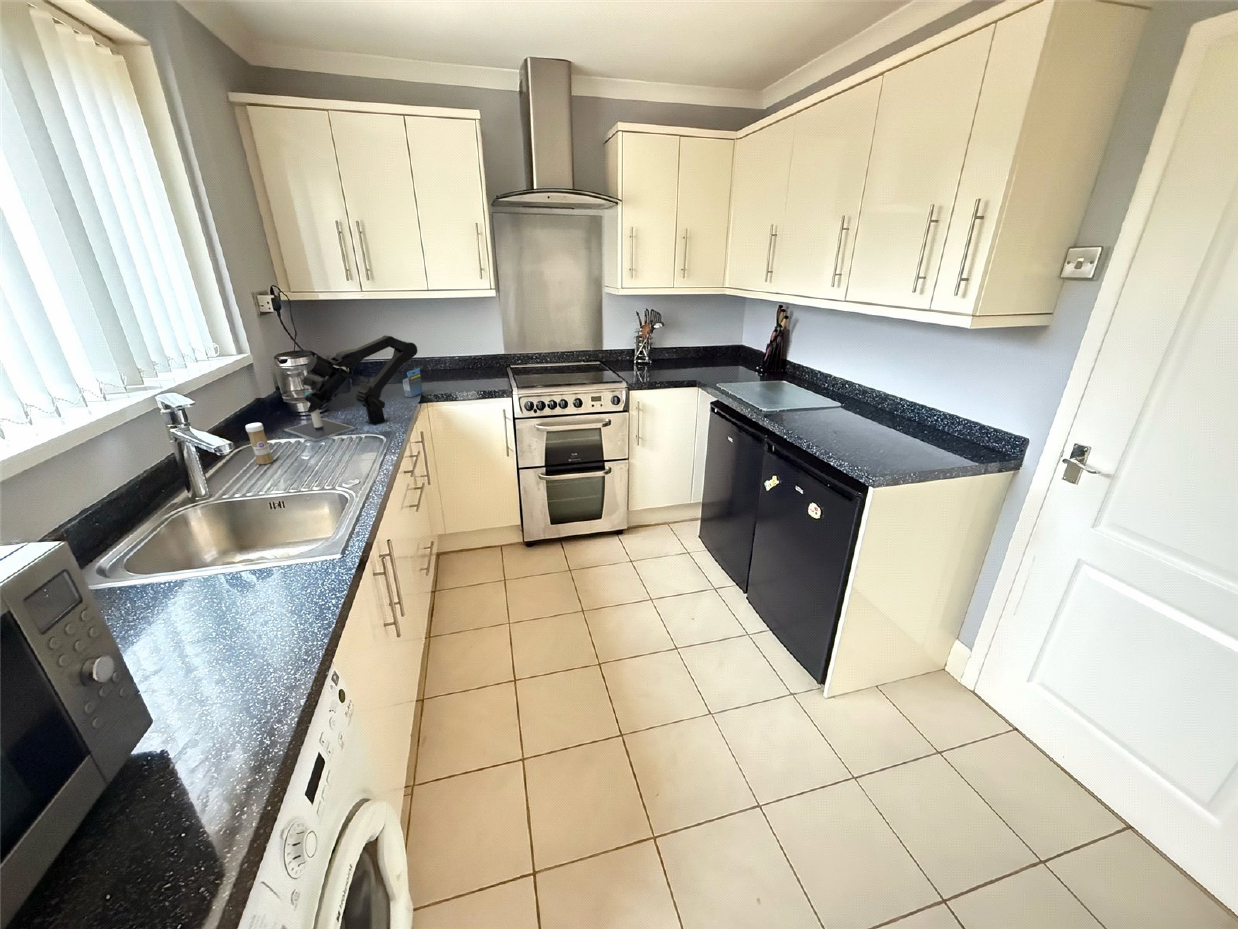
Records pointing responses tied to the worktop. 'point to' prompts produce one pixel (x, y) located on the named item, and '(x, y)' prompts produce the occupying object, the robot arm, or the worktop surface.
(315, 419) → the marker
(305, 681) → the worktop surface
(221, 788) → the worktop surface
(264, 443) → the sprinkles bottle
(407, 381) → the label tape box
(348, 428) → the tablet
